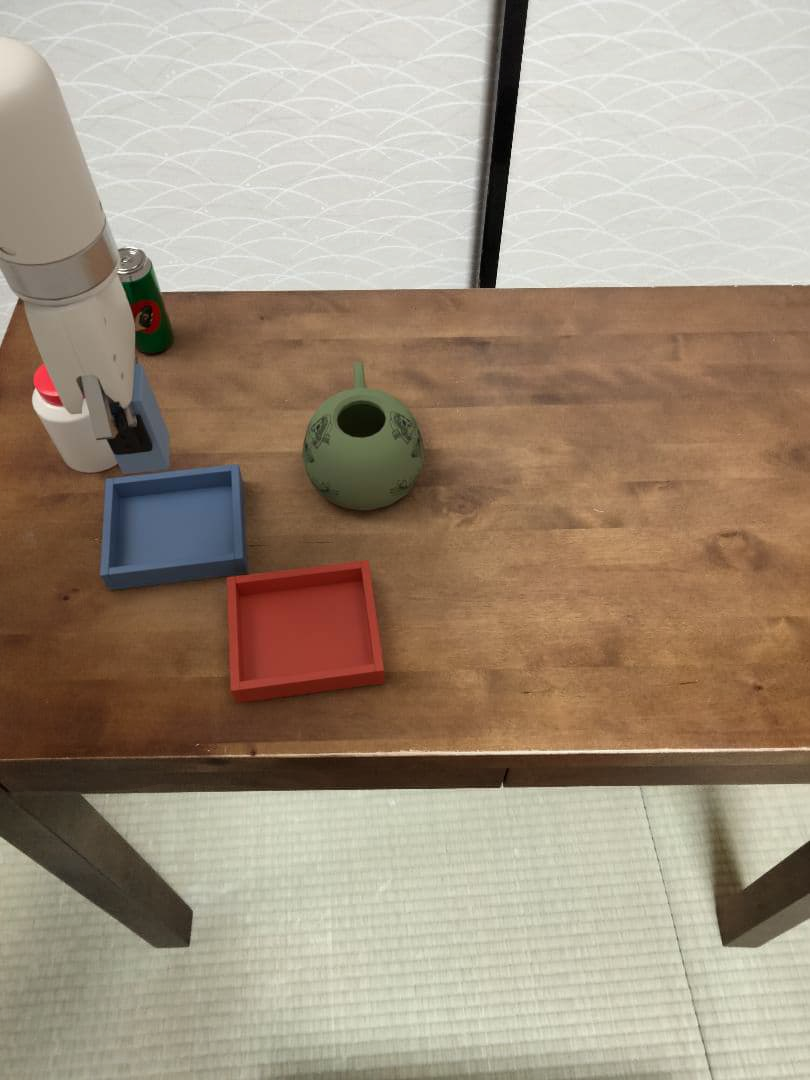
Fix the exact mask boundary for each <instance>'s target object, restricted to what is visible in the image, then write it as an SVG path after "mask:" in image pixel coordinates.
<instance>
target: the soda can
mask: <svg viewBox="0 0 810 1080" xmlns="http://www.w3.org/2000/svg"><path fill="white" fill-rule="evenodd" d="M118 251H119V254H120V258H121V262H120V268H119V271H118V273H117V274H118V276H119V278H120V281H121V283H122V286H123V288H124V291H125V293H126V296H127V299H128V302H129V305H130V308H131V311H132V315H133V319H134V325H135V350H137V351H139V352H142V353H145V354H158V353H162V352H163V351H165V350H166V349H168V348H169V347H170V346H171V344H172V343H173V342H174V340H175V331H174V329H173V325H172V322H171V319H170V315H169V312H168V309H167V306H166V302H165V300H164V296H163V293H162V290H161V287H160V284H159V281H158V278H157V274H156V271H155V268H154V265H153V262H152V260H151V259H150V258H149V257H148V256H147V255H146V253H145V251H144V250H142V249H140V248H139V247H135V246H124V247H119V248H118Z"/></svg>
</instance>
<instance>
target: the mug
mask: <svg viewBox="0 0 810 1080" xmlns="http://www.w3.org/2000/svg"><path fill="white" fill-rule="evenodd" d="M425 450H426V447H425V444H424V440H423V436H422V433H421V431H420V428H419V425H418V423H417V420H416V418H415V416H414V415H413V413H412V412H411V410H409V409H408V408H407V407H406V406H405V405H404V403H402V402H401V400H400V399H398V398H397V397H396V396H395V395H392V394H390V393H388V392H386V391H383V390H381V389H377V388H368V387H367V384H366V377H365V367H364V363H363V362H360V361H357V362H355V363H354V365H353V388H351V389H350V388H349V389H346V390H342V391H339V392H338V393H336V394H334V395H332V396H330V397H329V398H327V399H325V400H324V401H323V403H322V404H321V405H320V406H319V407H318V409H317V410H316V411H315V412H314V414H313V415H312V416H311V417H310V419H309V422H308V424H307V427H306V431H305V436H304V440H303V445H302V453H301V456H302V460H303V464H304V468H305V472H306V475H307V477H308V479H309V482H310V483H311V485H312V486H313V487H314V488H315V490H316V491H318V493H319V494H320V495H321V496H322V497H323V499H325V500H327V501H329V502H331V503H333V504H335V505H336V506H339V507H341V508H343V509H351V510H360V511H371V510H375V509H379V508H384V507H388V506H391V505H393V504H394V503H395V502H397V501H398V500H400V499H402V498H403V497H405V496H406V495H408V494H409V493H410V491H411V490H412V488H413V487H414V485H415V484H416V482H417V481H418V480H419V478H420V475H421V471H422V469H423V464H424V456H425Z"/></svg>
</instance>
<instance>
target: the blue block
mask: <svg viewBox="0 0 810 1080" xmlns="http://www.w3.org/2000/svg"><path fill="white" fill-rule="evenodd" d="M144 367H145V366H144V364H142V363H139V364H137V365H134V380H133V394H132V400H131V403H132V406H133V409H134V412H135V415H141V418H142V420H143V423H144V425H145V427H146V430H147V432H148V434H149V437H150V439H151V442H152V451H150V452H142V453H134V454H124V455H116V454H114V453H113V454H114V456H115V458H116V460H117V462H118V464H117V465H118V466H119V468H120V471H121V472H122V474H123V475H129V474H138V473H147V472H156V471H164V470H165V471H166V470H169V469H170V432H169V429H168V428H167V427H168V426H167V425H166V422H165V419H164V417H163V414H162V411H161V409H160V407H159V404H158V401H157V399H156V396H155V393H154V391H153V389H152V386H151V383H150V380H149V378H148V375H147V373H146V370H145V368H144ZM109 407H110V412H111V414H112V413H121V412H123V410H122V407H121V406H120V407H119V404H111V405H109ZM106 440H107V439H106ZM107 442H108V441H107ZM108 444H109V443H108ZM109 446H110V445H109ZM110 448H111V447H110ZM111 450H112V449H111ZM112 452H113V451H112Z"/></svg>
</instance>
